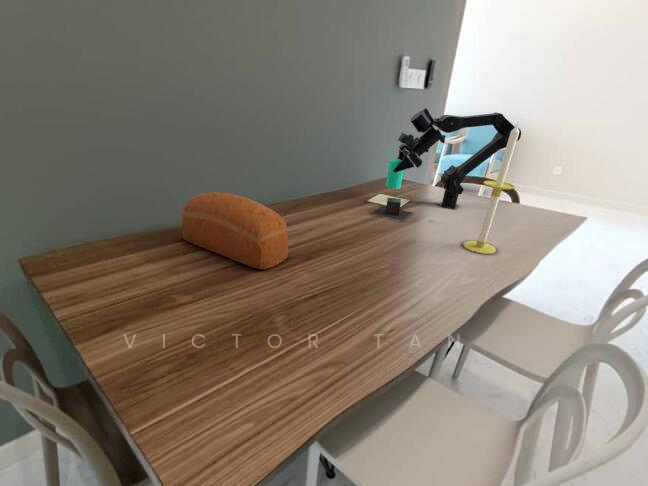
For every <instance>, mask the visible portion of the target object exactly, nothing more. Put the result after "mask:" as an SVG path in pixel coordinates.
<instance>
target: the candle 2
mask: <svg viewBox="0 0 648 486" xmlns="http://www.w3.org/2000/svg"><path fill="white" fill-rule="evenodd" d="M519 122H520V121H519V120H518V121H517V123H516V125H515V126H514V127H515V128H514V129H513V130H512V131H511V133H510V136H509V140H508V143H507V146H506V148H505V150H504V153H503V157H502V160H501V163H500V167H499V170H498V173H497V176H496V180H485V181H483V185H484V186H486V187H488V188H491V189H492V192H491V193H490V197H489V201H488V204H487V207H486V210H485V214H484V217H483V220H482V224H481V227H480V230H479V234H478V237H477V240H468V241H465V242H464V243H463V244H462V245H463V247H464V248H465V249H466V250H467V251H470V252H473V253H476V254H481V255H492V254H495V253H496V252H497V249H496V247H495V246H493V245H492V244H489V243H487V239H488V236H489V231H490V229H491V226H492V223H493V220H494V216H495V214H496V210H497V207H498V204H499V201H500V197H501V194H502V191H503V190H514V189H515V185H514V184H511V183H509V182H505V179H506V176H507V173H508V170H509V167H510V164H511V160H512V157H513V154H514V150H515V148H516V144H517V142H518V141H517V138H518V135H519V130H518V128H519ZM516 141H517V142H516Z"/></svg>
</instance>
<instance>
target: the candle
mask: <svg viewBox="0 0 648 486" xmlns="http://www.w3.org/2000/svg"><path fill="white" fill-rule="evenodd" d="M401 161H402V160H400V159H397V158H390V159H389V164H388V170H387V176H386V183H385V188H388V189H394V190H395V189H396V190H397V189H398V190H399V189H401V187H402V182H403V175H404V170H402V171H398V172H394V171H393V170H394V169H395V168H396V167H397V166H398V164H399V163H400V162H401Z"/></svg>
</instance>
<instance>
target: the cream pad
mask: <svg viewBox="0 0 648 486" xmlns="http://www.w3.org/2000/svg"><path fill="white" fill-rule="evenodd" d="M387 198H396V199H401V205H400V208H401V207H402V206H403V207H404V205H406V204H407V203H408V202H410V201H411V199H407V198H401V197H398V196H392V195H388V194H383V193H379V194H376V195H375V196H373V197H371V198H370V199H367V202H370V203H375V204H378V205H382V206H386V204H387Z"/></svg>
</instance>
